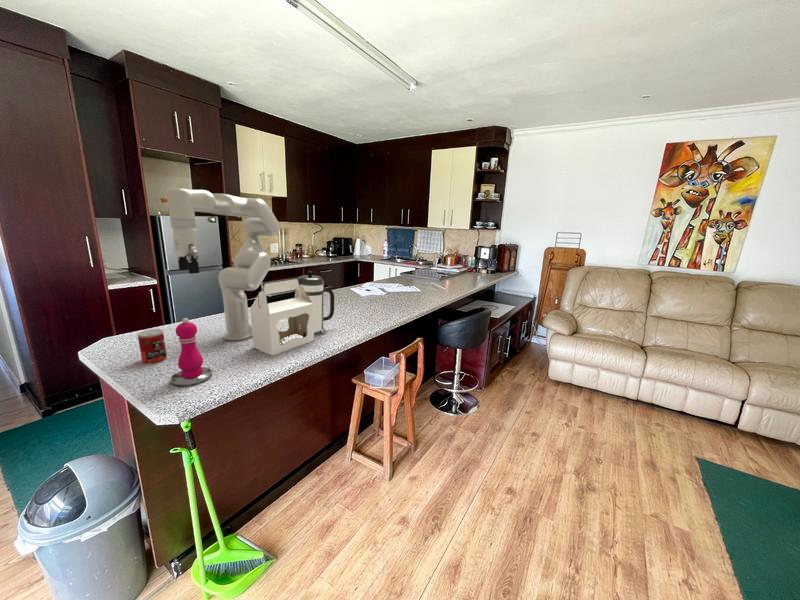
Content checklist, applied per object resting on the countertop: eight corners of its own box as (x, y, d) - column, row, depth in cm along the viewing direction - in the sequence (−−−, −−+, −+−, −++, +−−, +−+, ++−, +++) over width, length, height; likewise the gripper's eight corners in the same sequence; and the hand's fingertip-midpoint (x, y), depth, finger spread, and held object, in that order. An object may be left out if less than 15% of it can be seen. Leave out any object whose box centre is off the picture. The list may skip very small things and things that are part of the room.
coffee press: (320, 339, 152) (321, 273, 145) (288, 335, 154) (286, 271, 148) (334, 328, 168) (335, 269, 162) (304, 325, 171) (304, 266, 164)
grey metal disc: (204, 367, 121) (203, 363, 121) (218, 377, 114) (218, 373, 114) (165, 378, 112) (165, 374, 112) (178, 390, 105) (177, 386, 105)
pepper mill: (209, 371, 116) (203, 316, 111) (193, 380, 109) (185, 322, 104) (191, 368, 117) (184, 314, 112) (174, 378, 110) (166, 320, 105)
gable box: (296, 334, 158) (293, 276, 151) (315, 340, 150) (313, 279, 144) (252, 348, 140) (247, 282, 133) (271, 356, 133) (266, 287, 126)
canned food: (148, 365, 121) (143, 337, 118) (138, 360, 125) (133, 332, 122) (171, 358, 127) (167, 331, 125) (161, 354, 131) (157, 327, 129)
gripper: (163, 223, 122) (169, 269, 126) (180, 225, 111) (186, 275, 115) (186, 223, 128) (191, 267, 132) (204, 225, 117) (209, 273, 121)
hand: (189, 271), depth 124 cm, fingers open, 9 cm apart
